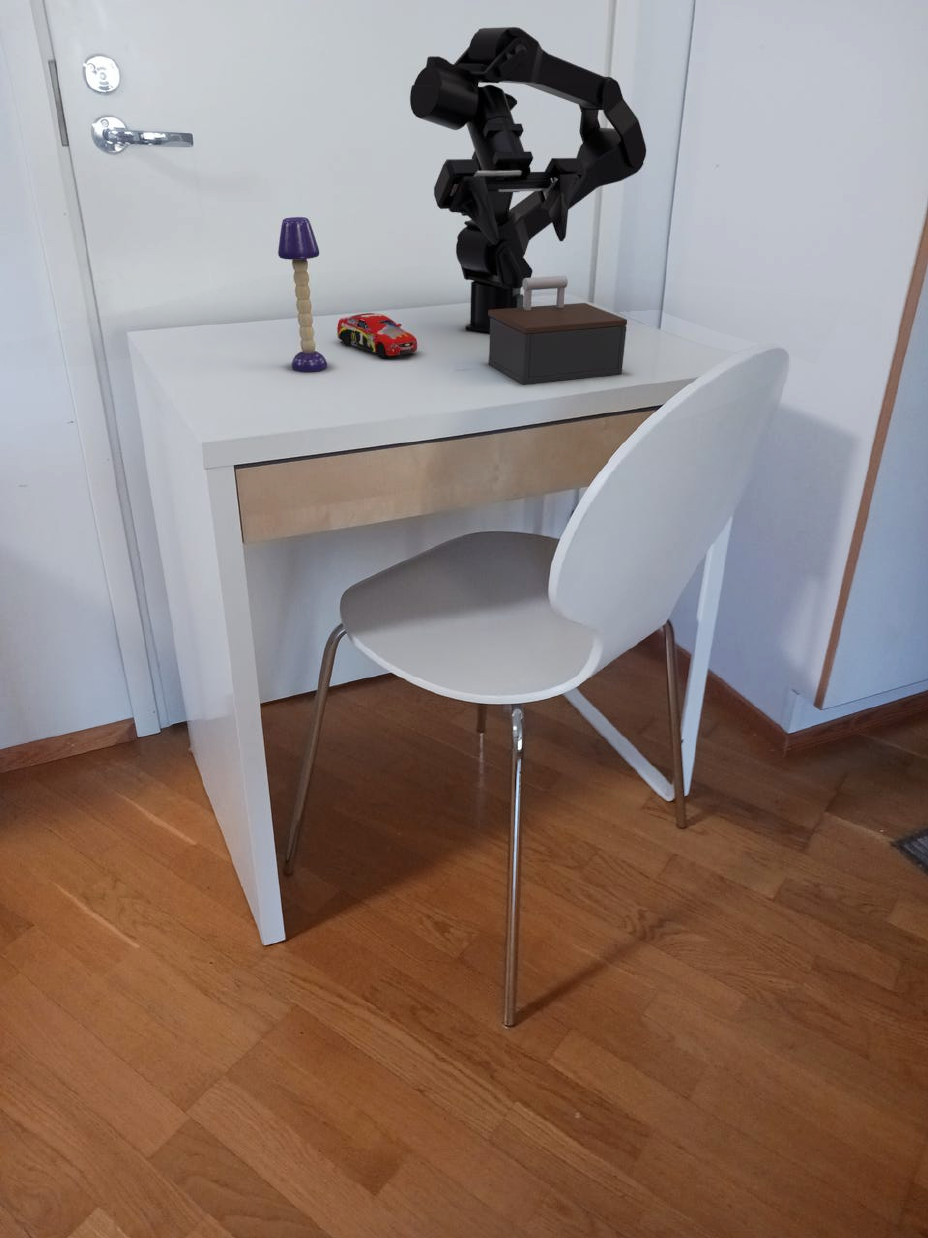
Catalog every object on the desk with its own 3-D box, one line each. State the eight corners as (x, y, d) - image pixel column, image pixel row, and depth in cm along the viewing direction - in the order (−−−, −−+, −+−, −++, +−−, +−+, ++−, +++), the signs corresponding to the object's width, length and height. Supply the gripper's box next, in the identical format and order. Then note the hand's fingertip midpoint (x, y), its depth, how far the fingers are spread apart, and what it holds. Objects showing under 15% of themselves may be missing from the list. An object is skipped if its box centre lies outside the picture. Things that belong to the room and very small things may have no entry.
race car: (424, 356, 120) (425, 324, 118) (389, 363, 117) (389, 329, 115) (366, 335, 129) (365, 304, 127) (332, 340, 126) (330, 309, 124)
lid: (488, 315, 115) (489, 277, 113) (584, 308, 120) (587, 271, 118) (525, 333, 107) (527, 293, 105) (626, 325, 112) (630, 286, 110)
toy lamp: (293, 373, 112) (283, 221, 104) (281, 364, 115) (270, 216, 107) (332, 369, 114) (324, 219, 106) (318, 360, 117) (310, 214, 109)
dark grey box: (488, 364, 117) (490, 317, 115) (582, 355, 122) (586, 309, 119) (522, 384, 110) (525, 334, 107) (621, 374, 115) (626, 325, 112)
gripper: (535, 178, 130) (569, 277, 127) (408, 180, 123) (440, 285, 120) (568, 115, 120) (606, 221, 117) (431, 114, 113) (468, 226, 110)
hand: (530, 240), depth 116 cm, fingers open, 9 cm apart
